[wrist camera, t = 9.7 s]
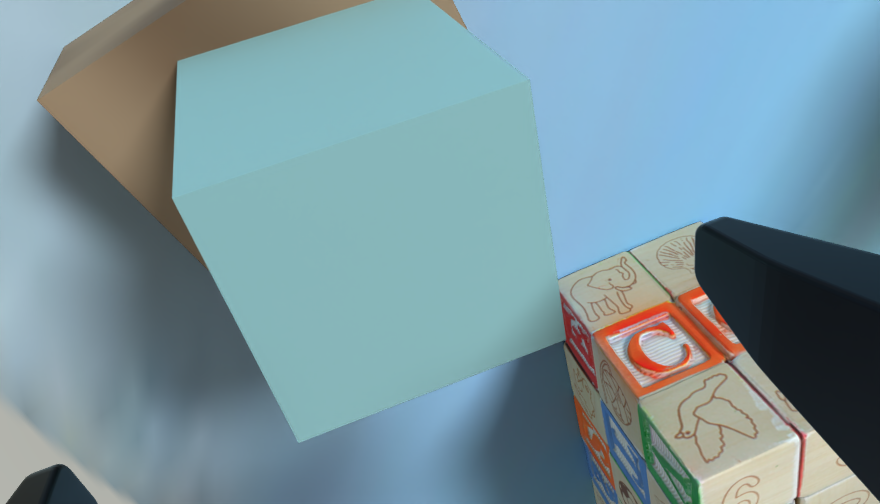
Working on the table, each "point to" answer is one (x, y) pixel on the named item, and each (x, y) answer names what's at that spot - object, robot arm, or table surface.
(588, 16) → the table surface
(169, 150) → the walnut base block
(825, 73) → the table surface
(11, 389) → the table surface
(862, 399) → the robot arm
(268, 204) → the teal block
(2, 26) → the table surface
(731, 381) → the stack of blocks
